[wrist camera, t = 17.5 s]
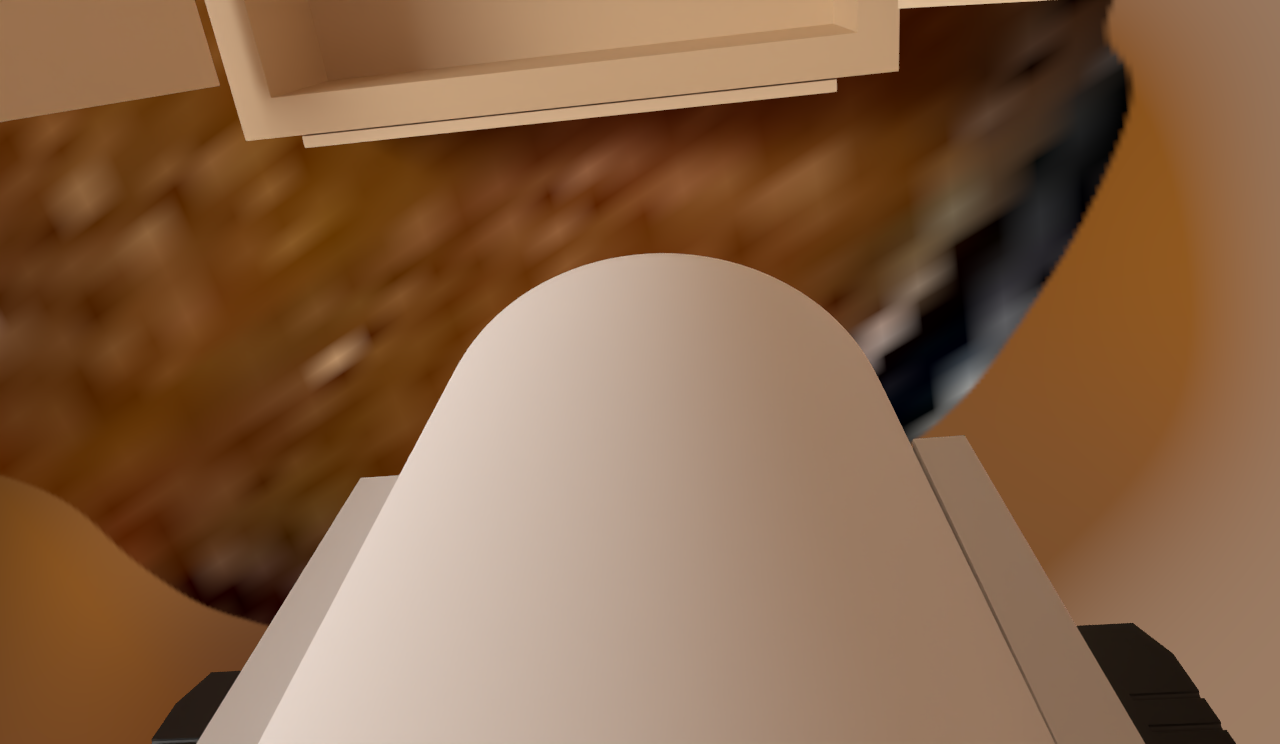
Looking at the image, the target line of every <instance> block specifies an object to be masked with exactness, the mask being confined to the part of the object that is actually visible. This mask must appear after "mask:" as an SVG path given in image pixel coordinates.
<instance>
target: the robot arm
mask: <svg viewBox="0 0 1280 744" xmlns="http://www.w3.org/2000/svg"><path fill="white" fill-rule="evenodd" d="M913 451H914V453H915V455H916V457H917V459H918V461H919V463H920V465H921V467H922V469H923V472H924V474H925V476H926V478H927V480H928V482H929V484H930V486H931V488H932V490H933V492H934V494H935V496H936V498H937V500H938V503H939V505H940V507H941V509H942V511H943V513H944V515H945V517H946V519H947V521H948V523H949V525H950V527H951V529H952V531H953V534H954V536H955V538H956V540H957V542H958V544H959V546H960V548H961V550H962V552H963V554H964V556H965V558H966V560H967V563H968V565H969V567H970V569H971V571H972V573H973V575H974V577H975V579H976V581H977V583H978V585H979V587H980V589H981V591H982V594H983V596H984V598H985V600H986V602H987V604H988V606H989V608H990V610H991V612H992V614H993V616H994V618H995V620H996V623H997V625H998V627H999V629H1000V631H1001V633H1002V635H1003V637H1004V639H1005V641H1006V643H1007V645H1008V647H1009V649H1010V651H1011V654H1012V656H1013V658H1014V660H1015V662H1016V664H1017V666H1018V668H1019V670H1020V672H1021V674H1022V676H1023V678H1024V680H1025V683H1026V685H1027V687H1028V689H1029V691H1030V693H1031V695H1032V697H1033V699H1034V701H1035V703H1036V705H1037V707H1038V709H1039V711H1040V714H1041V716H1042V718H1043V720H1044V722H1045V724H1046V726H1047V728H1048V730H1049V732H1050V734H1051V736H1052V738H1053V740H1054V742H1055V744H1236V743H1235V742H1234V740H1233V739H1232V737H1231V736H1230V734H1229V733H1228V732H1227V730H1223V729H1222V727H1221V722H1220V720H1219V719H1218V717H1217V716H1216V714H1215V713H1214V712H1213V710H1212V709H1211V707H1210V706H1209V704H1208V703H1207V702H1206V700H1205V699H1204V698H1200V695H1199V690H1198V689H1197V687H1196V686H1195V684H1194V683H1193V682H1192V680H1191V679H1190V677H1189V676H1188V675H1187V673H1186V672H1185V670H1184V669H1183V667H1182V666H1181V664H1180V663H1179V662H1178V661H1177V659H1176V657H1175V656H1174V654H1172V653H1171V652H1170V651H1169V650H1167V649H1166V648H1165V647H1163V646H1162V645H1160V643H1158V642H1157V641H1155V640H1154V639H1153V638H1151V637H1150V636H1149V635H1148V634H1146V633H1145V632H1144V631H1142V630H1141V629H1140V628H1139V627H1137V626H1136V625H1135V624H1133V623H1125V624H1124V623H1123V624H1105V625H1085V626H1076V625H1075V623H1074V621H1073V620H1072V618H1071V616H1070V614H1069V613H1068V611H1067V609H1066V608H1065V606H1064V604H1063V603H1062V601H1061V599H1060V597H1059V596H1058V594H1057V592H1056V591H1055V589H1054V587H1053V585H1052V584H1051V582H1050V580H1049V579H1048V577H1047V576H1046V573H1045V572H1044V570H1043V568H1042V567H1041V565H1040V563H1039V562H1038V560H1037V558H1036V556H1035V555H1034V553H1033V551H1032V550H1031V548H1030V546H1029V544H1028V543H1027V541H1026V539H1025V538H1024V536H1023V534H1022V532H1021V531H1020V529H1019V527H1018V526H1017V524H1016V523H1015V521H1014V519H1013V517H1012V515H1011V514H1010V512H1009V510H1008V509H1007V507H1006V505H1005V504H1004V502H1003V500H1002V498H1001V497H1000V495H999V493H998V492H997V490H996V488H995V486H994V485H993V483H992V481H991V480H990V478H989V476H988V474H987V473H986V471H985V469H984V468H983V466H982V464H981V462H980V461H979V460H978V457H977V456H976V454H975V452H974V451H973V449H972V447H971V445H970V444H969V442H968V440H967V439H966V437H965V435H963V436H949V437H937V438H936V437H935V438H921V439H913ZM398 477H399V475H397V476H383V477H369V478H360V480H359V481H358V483H357V485H356V486H355V488H354V490H353V491H352V493H351V494H350V496H349V498H348V499H347V501H346V502H345V504H344V506H343V507H342V509H341V511H340V512H339V514H338V515H337V517H336V519H335V520H334V522H333V523H332V525H331V527H330V528H329V530H328V532H327V533H326V535H325V536H324V538H323V540H322V541H321V543H320V544H319V546H318V548H317V549H316V551H315V553H314V554H313V556H312V557H311V559H310V561H309V562H308V564H307V566H306V567H305V569H304V570H303V572H302V574H301V575H300V577H299V578H298V580H297V582H296V583H295V585H294V587H293V588H292V590H291V591H290V593H289V595H288V596H287V598H286V599H285V601H284V603H283V604H282V606H281V608H280V609H279V611H278V612H277V614H276V616H275V617H274V619H273V621H272V622H271V624H270V625H269V627H268V629H267V630H266V632H265V634H264V635H263V637H262V638H261V640H260V642H259V643H258V645H257V646H256V648H255V650H254V651H253V653H252V654H251V656H250V658H249V659H248V661H247V663H246V664H245V666H244V668H243V669H242V671H231V672H212V673H210V674H209V675H208V676H207V677H206V678H205V679H204V680H202V681H201V682H200V683H199V684H198V685H197V686H196V687H194V688H193V689H192V690H191V691H190V692H189V693H188V694H186V695H185V696H184V697H183V698H182V699H181V700H180V701H179V702H177V703H176V704H175V706H174V707H173V709H172V710H171V712H170V713H169V715H168V716H167V718H166V719H165V721H164V723H163V724H162V725H161V727H160V728H159V729H158V731H157V732H156V734H155V735H154V737H153V738H152V744H258V743H259V741H260V739H261V737H262V735H263V733H264V731H265V730H266V728H267V726H268V724H269V722H270V720H271V718H272V716H273V714H274V712H275V711H276V709H277V707H278V705H279V703H280V701H281V699H282V697H283V695H284V694H285V692H286V690H287V688H288V686H289V684H290V682H291V680H292V678H293V676H294V675H295V673H296V671H297V669H298V667H299V665H300V663H301V661H302V659H303V657H304V656H305V654H306V652H307V650H308V648H309V646H310V644H311V642H312V640H313V638H314V637H315V635H316V633H317V631H318V629H319V627H320V625H321V623H322V621H323V620H324V618H325V616H326V614H327V612H328V610H329V608H330V606H331V604H332V602H333V601H334V599H335V597H336V595H337V593H338V591H339V589H340V587H341V585H342V583H343V582H344V580H345V578H346V576H347V574H348V572H349V570H350V568H351V566H352V564H353V563H354V561H355V559H356V557H357V555H358V553H359V551H360V549H361V547H362V546H363V544H364V542H365V540H366V538H367V536H368V534H369V532H370V530H371V528H372V527H373V525H374V523H375V521H376V519H377V517H378V515H379V513H380V511H381V509H382V508H383V506H384V504H385V502H386V500H387V498H388V496H389V494H390V492H391V490H392V489H393V487H394V485H395V483H396V481H397V479H398Z"/></svg>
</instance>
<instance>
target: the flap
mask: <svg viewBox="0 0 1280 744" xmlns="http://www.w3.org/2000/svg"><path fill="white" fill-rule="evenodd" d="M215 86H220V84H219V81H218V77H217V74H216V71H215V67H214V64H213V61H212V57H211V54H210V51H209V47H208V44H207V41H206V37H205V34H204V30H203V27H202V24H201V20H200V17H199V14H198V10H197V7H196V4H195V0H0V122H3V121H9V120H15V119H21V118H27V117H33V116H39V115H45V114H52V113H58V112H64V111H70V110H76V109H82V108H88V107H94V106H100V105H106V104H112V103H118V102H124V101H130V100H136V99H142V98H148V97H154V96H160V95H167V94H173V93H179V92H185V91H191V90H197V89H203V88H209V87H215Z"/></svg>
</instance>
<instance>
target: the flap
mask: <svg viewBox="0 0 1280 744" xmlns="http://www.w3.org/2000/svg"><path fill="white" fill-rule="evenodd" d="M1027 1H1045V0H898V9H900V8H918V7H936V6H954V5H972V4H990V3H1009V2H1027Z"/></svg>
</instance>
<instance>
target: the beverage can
mask: <svg viewBox="0 0 1280 744" xmlns="http://www.w3.org/2000/svg"><path fill="white" fill-rule="evenodd" d="M258 744H1055V742H1054V740H1053V738H1052V736H1051V734H1050V732H1049V730H1048V728H1047V726H1046V724H1045V722H1044V720H1043V718H1042V716H1041V714H1040V711H1039V709H1038V707H1037V705H1036V703H1035V701H1034V699H1033V697H1032V695H1031V693H1030V691H1029V689H1028V687H1027V685H1026V683H1025V680H1024V678H1023V676H1022V674H1021V672H1020V670H1019V668H1018V666H1017V664H1016V662H1015V660H1014V658H1013V656H1012V654H1011V651H1010V649H1009V647H1008V645H1007V643H1006V641H1005V639H1004V637H1003V635H1002V633H1001V631H1000V629H999V627H998V625H997V623H996V620H995V618H994V616H993V614H992V612H991V610H990V608H989V606H988V604H987V602H986V600H985V598H984V596H983V594H982V591H981V589H980V587H979V585H978V583H977V581H976V579H975V577H974V575H973V573H972V571H971V569H970V567H969V565H968V563H967V560H966V558H965V556H964V554H963V552H962V550H961V548H960V546H959V544H958V542H957V540H956V538H955V536H954V534H953V531H952V529H951V527H950V525H949V523H948V521H947V519H946V517H945V515H944V513H943V511H942V509H941V507H940V505H939V503H938V500H937V498H936V496H935V494H934V492H933V490H932V488H931V486H930V484H929V482H928V480H927V478H926V476H925V474H924V472H923V469H922V467H921V465H920V463H919V461H918V459H917V457H916V455H915V453H914V451H913V449H912V447H911V445H910V443H909V440H908V438H907V436H906V434H905V432H904V430H903V428H902V426H901V424H900V422H899V420H898V418H897V416H896V414H895V412H894V409H893V407H892V405H891V403H890V401H889V399H888V397H887V395H886V393H885V391H884V389H883V387H882V385H881V383H880V381H879V379H878V377H877V375H876V373H875V371H874V369H873V367H872V366H871V364H870V362H869V361H868V359H867V357H866V356H865V354H864V353H863V351H862V350H861V348H860V347H859V346H858V344H857V343H856V342H855V340H854V339H853V338H852V337H851V335H850V334H849V333H848V332H847V331H846V330H845V329H844V328H843V327H842V325H841V324H840V323H839V322H838V321H837V320H836V319H834V318H833V317H832V316H831V315H830V314H829V313H828V312H827V311H826V310H824V309H823V308H822V307H821V306H819V305H818V304H817V303H815V302H814V301H813V300H811V299H810V298H809V297H807V296H806V295H804V294H803V293H801V292H800V291H798V290H796V289H795V288H793V287H791V286H789V285H788V284H786V283H784V282H782V281H780V280H778V279H776V278H774V277H772V276H769V275H767V274H765V273H762V272H760V271H757V270H755V269H752V268H749V267H746V266H743V265H740V264H736V263H733V262H729V261H725V260H721V259H716V258H711V257H704V256H698V255H688V254H674V253H654V254H638V255H629V256H622V257H617V258H611V259H606V260H602V261H598V262H594V263H591V264H587V265H584V266H581V267H578V268H575V269H572V270H570V271H567V272H565V273H562V274H560V275H558V276H556V277H553V278H551V279H549V280H547V281H546V282H544V283H542V284H540V285H538V286H536V287H535V288H533V289H531V290H530V291H528V292H527V293H525V294H523V295H522V296H521V297H519V298H518V299H516V300H515V301H514V302H512V303H511V304H510V305H509V306H507V307H506V308H505V309H504V310H502V311H501V312H500V313H499V314H498V315H497V316H496V317H495V318H494V319H493V320H492V321H491V322H490V323H489V324H488V325H487V326H486V327H485V328H484V329H483V330H482V331H481V332H480V334H479V335H478V336H477V337H476V339H475V340H474V341H473V343H472V344H471V345H470V347H469V348H468V349H467V351H466V353H465V354H464V356H463V357H462V359H461V361H460V362H459V364H458V366H457V368H456V369H455V371H454V373H453V375H452V377H451V379H450V380H449V382H448V384H447V386H446V388H445V390H444V392H443V394H442V396H441V398H440V399H439V401H438V403H437V405H436V407H435V409H434V411H433V413H432V415H431V416H430V418H429V420H428V422H427V424H426V426H425V428H424V430H423V432H422V434H421V435H420V437H419V439H418V441H417V443H416V445H415V447H414V449H413V451H412V453H411V454H410V456H409V458H408V460H407V462H406V464H405V466H404V468H403V470H402V472H401V473H400V475H399V477H398V479H397V481H396V483H395V485H394V487H393V489H392V490H391V492H390V494H389V496H388V498H387V500H386V502H385V504H384V506H383V508H382V509H381V511H380V513H379V515H378V517H377V519H376V521H375V523H374V525H373V527H372V528H371V530H370V532H369V534H368V536H367V538H366V540H365V542H364V544H363V546H362V547H361V549H360V551H359V553H358V555H357V557H356V559H355V561H354V563H353V564H352V566H351V568H350V570H349V572H348V574H347V576H346V578H345V580H344V582H343V583H342V585H341V587H340V589H339V591H338V593H337V595H336V597H335V599H334V601H333V602H332V604H331V606H330V608H329V610H328V612H327V614H326V616H325V618H324V620H323V621H322V623H321V625H320V627H319V629H318V631H317V633H316V635H315V637H314V638H313V640H312V642H311V644H310V646H309V648H308V650H307V652H306V654H305V656H304V657H303V659H302V661H301V663H300V665H299V667H298V669H297V671H296V673H295V675H294V676H293V678H292V680H291V682H290V684H289V686H288V688H287V690H286V692H285V694H284V695H283V697H282V699H281V701H280V703H279V705H278V707H277V709H276V711H275V712H274V714H273V716H272V718H271V720H270V722H269V724H268V726H267V728H266V730H265V731H264V733H263V735H262V737H261V739H260V741H259V743H258Z"/></svg>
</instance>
